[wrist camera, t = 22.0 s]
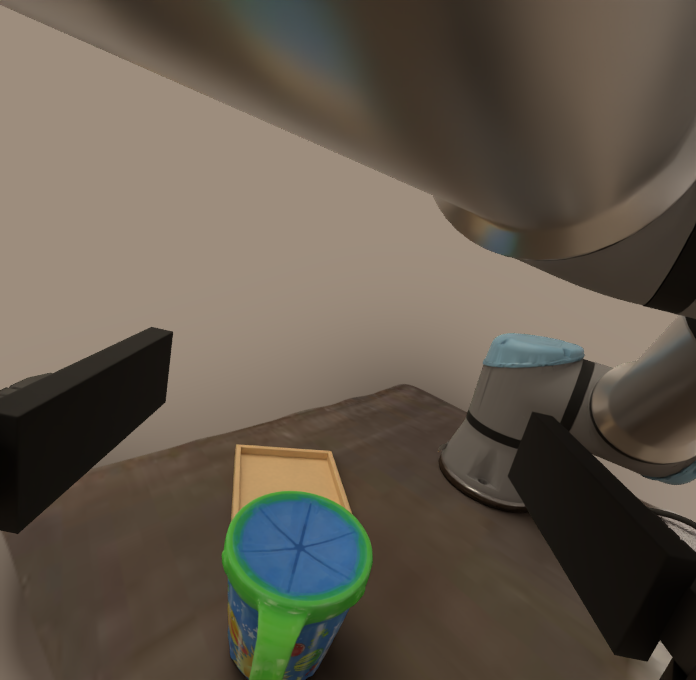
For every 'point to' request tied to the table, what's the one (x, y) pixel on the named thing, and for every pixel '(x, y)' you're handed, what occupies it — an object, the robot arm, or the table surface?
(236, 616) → the snack cup
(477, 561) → the table surface
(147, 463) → the table surface
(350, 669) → the table surface
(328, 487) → the tray
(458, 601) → the table surface
